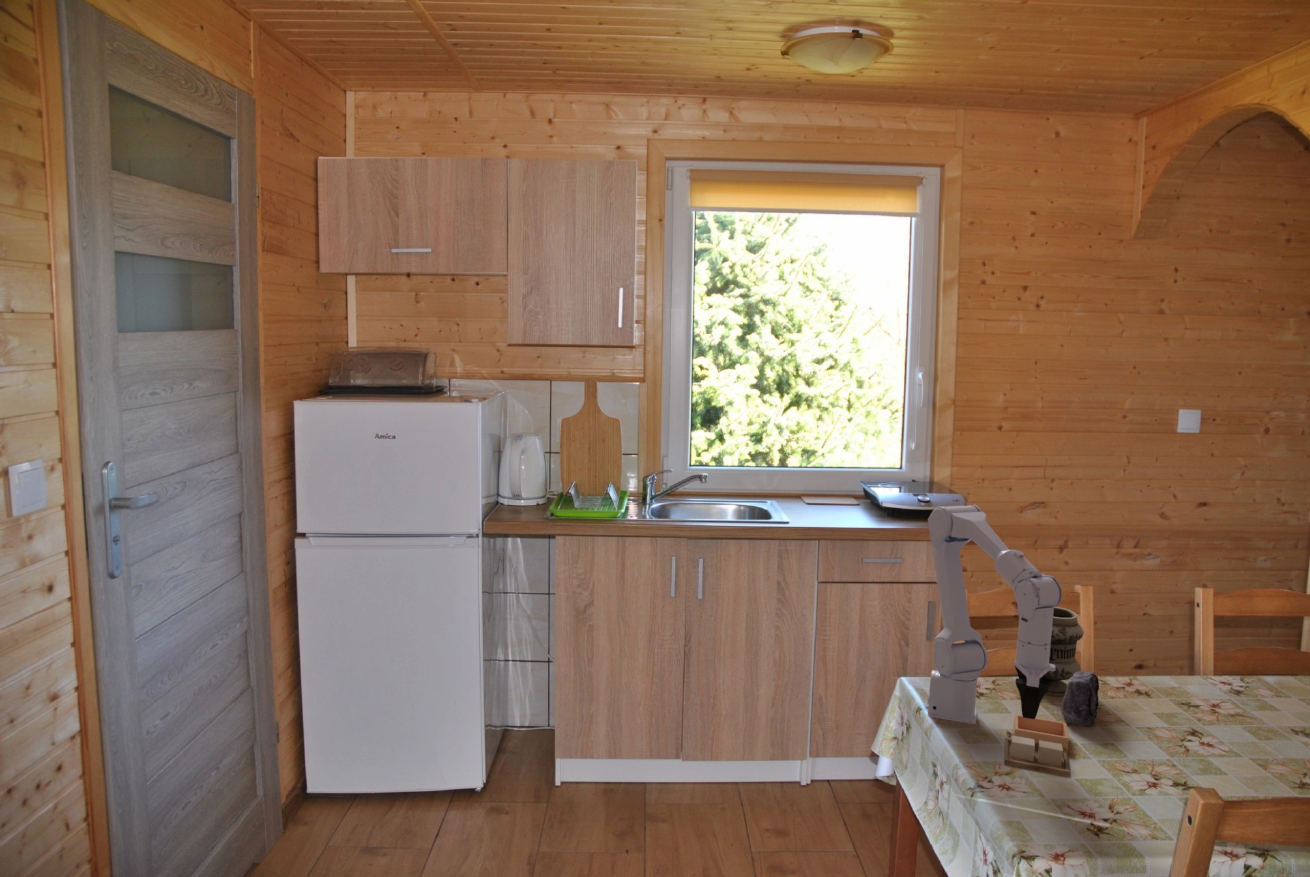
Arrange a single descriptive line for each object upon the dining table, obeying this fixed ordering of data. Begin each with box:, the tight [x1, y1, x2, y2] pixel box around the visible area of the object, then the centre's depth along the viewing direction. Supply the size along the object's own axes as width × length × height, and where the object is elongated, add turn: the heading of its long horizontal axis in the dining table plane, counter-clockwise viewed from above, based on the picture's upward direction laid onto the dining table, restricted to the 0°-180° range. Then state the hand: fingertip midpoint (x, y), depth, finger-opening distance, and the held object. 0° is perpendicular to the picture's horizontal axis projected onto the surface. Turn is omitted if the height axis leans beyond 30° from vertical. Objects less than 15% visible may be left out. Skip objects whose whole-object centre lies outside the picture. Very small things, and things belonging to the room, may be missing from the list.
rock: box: [1060, 670, 1100, 727], centre depth 190 cm, size 10×6×10 cm, turn 142°
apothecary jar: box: [1039, 606, 1085, 697], centre depth 208 cm, size 12×12×18 cm
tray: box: [1004, 737, 1070, 777], centre depth 173 cm, size 11×10×1 cm
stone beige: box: [1038, 740, 1063, 766], centre depth 172 cm, size 4×3×3 cm
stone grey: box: [1011, 735, 1035, 761], centre depth 174 cm, size 4×3×3 cm
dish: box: [1013, 713, 1070, 753], centre depth 181 cm, size 10×8×3 cm
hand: (1028, 709), depth 173 cm, fingers open, 7 cm apart
